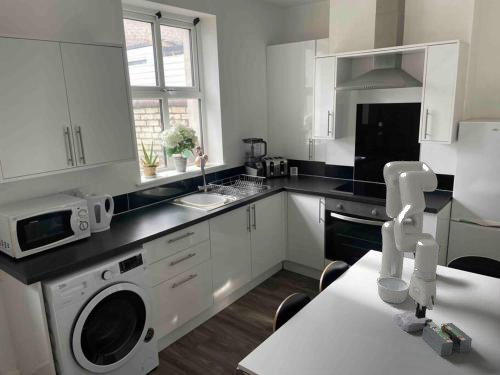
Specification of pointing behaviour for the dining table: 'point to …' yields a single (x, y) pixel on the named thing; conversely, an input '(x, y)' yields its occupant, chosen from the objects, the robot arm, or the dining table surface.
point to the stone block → (409, 321)
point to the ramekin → (392, 289)
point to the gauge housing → (446, 339)
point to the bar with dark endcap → (429, 323)
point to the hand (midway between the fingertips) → (420, 317)
